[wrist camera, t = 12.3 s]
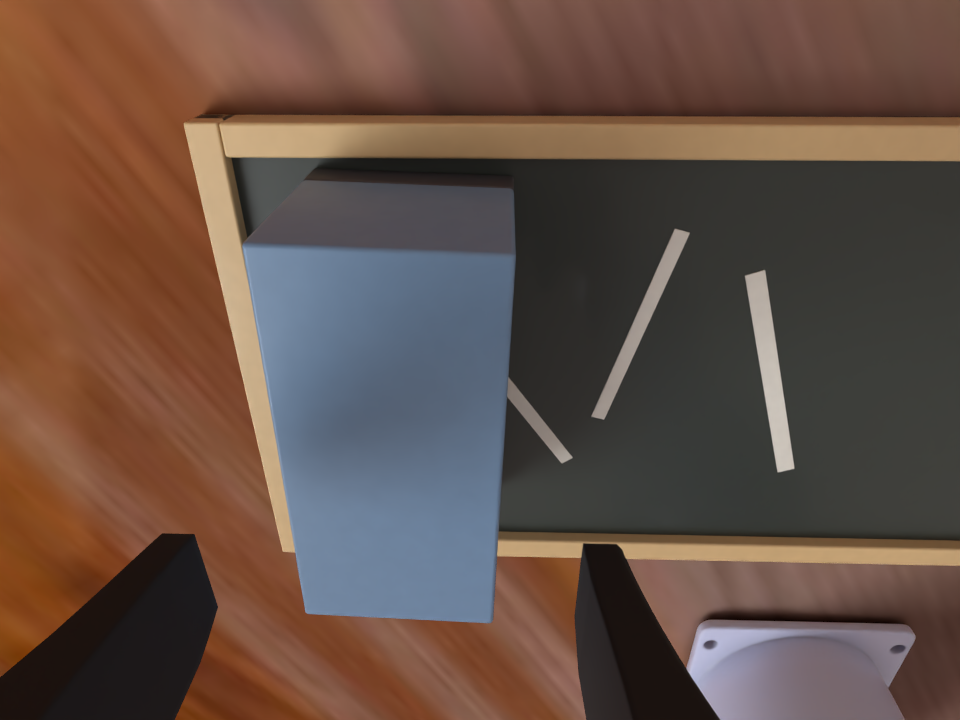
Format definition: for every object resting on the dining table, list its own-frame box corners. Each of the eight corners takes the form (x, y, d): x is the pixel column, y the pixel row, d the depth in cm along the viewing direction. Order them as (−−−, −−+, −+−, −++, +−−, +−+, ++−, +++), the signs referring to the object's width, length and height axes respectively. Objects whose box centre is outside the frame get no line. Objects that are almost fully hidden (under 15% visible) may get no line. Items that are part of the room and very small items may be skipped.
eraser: (495, 488, 20) (493, 625, 16) (346, 481, 21) (304, 615, 16) (513, 175, 15) (516, 254, 11) (313, 167, 15) (239, 242, 11)
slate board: (1041, 545, 22) (1062, 569, 21) (290, 530, 23) (282, 552, 22) (1317, 117, 15) (1367, 127, 14) (199, 113, 15) (182, 122, 15)
